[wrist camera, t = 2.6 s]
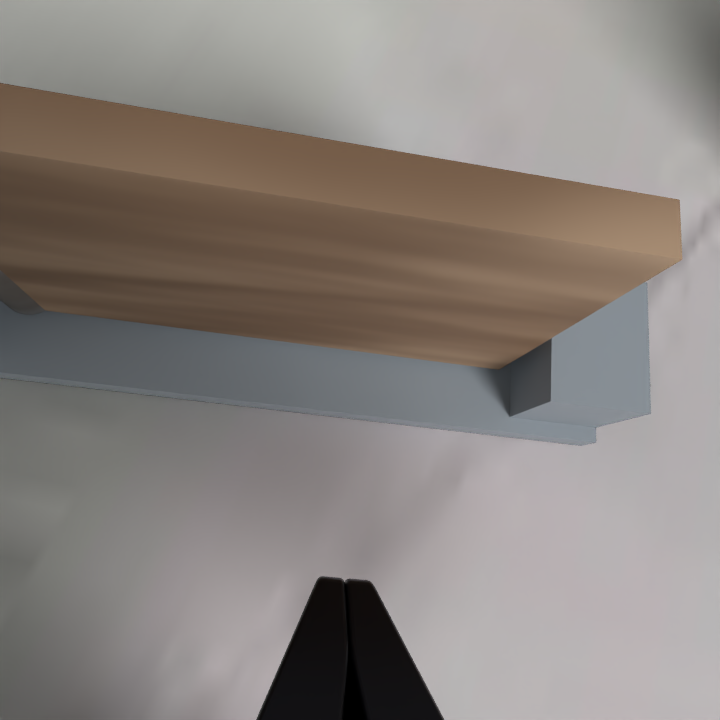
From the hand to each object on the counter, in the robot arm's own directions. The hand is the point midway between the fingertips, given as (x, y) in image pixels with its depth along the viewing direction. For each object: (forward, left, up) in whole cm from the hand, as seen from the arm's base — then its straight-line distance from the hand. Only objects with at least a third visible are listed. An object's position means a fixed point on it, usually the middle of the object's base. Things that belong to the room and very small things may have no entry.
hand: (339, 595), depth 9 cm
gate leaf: (+6, -3, -8) cm, 11 cm away
